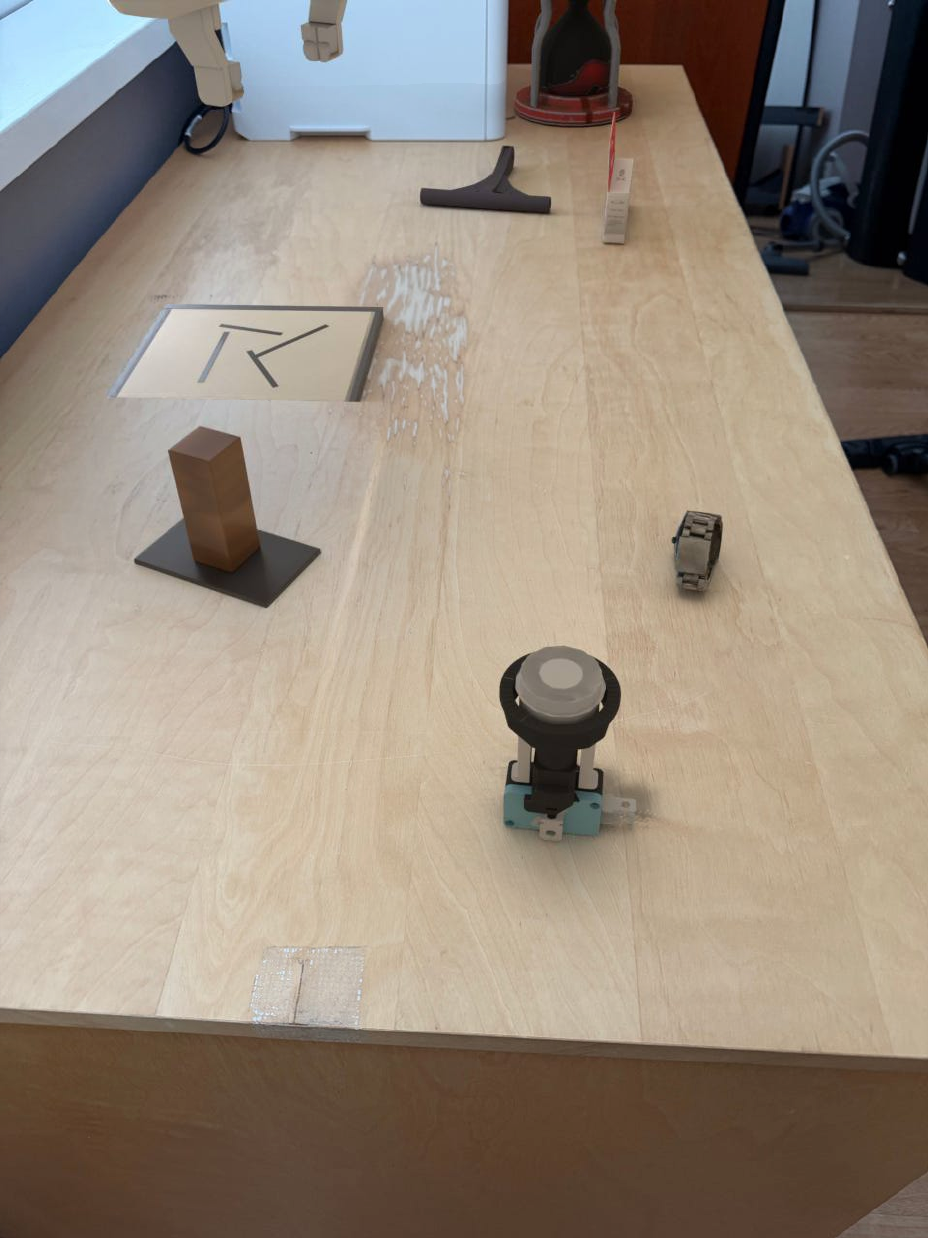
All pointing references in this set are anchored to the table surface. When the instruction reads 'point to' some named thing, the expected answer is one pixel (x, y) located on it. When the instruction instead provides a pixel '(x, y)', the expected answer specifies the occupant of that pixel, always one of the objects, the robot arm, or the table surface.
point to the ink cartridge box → (617, 194)
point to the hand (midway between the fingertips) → (276, 79)
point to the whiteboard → (253, 353)
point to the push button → (559, 743)
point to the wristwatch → (697, 549)
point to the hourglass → (575, 69)
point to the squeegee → (490, 191)
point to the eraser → (222, 526)
